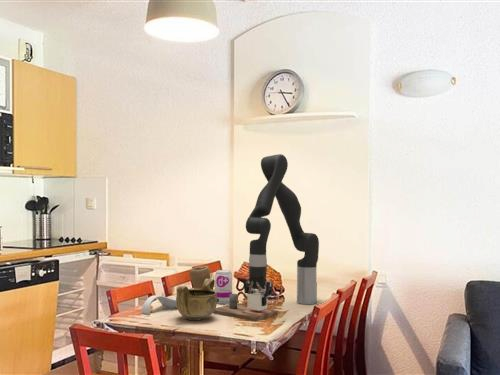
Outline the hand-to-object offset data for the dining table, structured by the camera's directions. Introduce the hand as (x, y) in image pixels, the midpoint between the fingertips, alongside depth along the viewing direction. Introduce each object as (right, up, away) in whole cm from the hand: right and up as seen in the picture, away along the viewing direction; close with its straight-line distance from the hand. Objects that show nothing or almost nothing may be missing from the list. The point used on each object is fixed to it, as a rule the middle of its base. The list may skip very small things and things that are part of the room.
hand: (257, 304), depth 221 cm
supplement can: (-16, -5, +27) cm, 32 cm away
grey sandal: (-41, -5, +11) cm, 43 cm away
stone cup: (-26, -6, +43) cm, 51 cm away
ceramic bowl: (-25, -5, -6) cm, 26 cm away
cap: (0, -2, 0) cm, 2 cm away
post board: (-6, -5, +4) cm, 8 cm away
